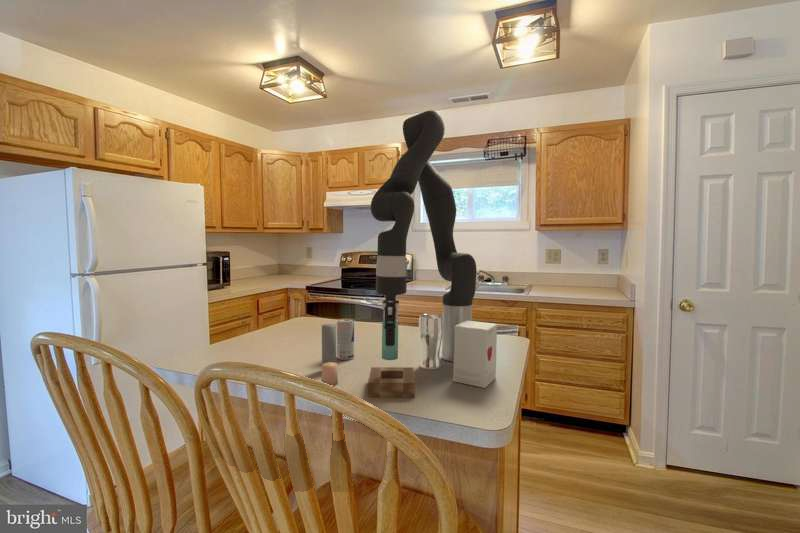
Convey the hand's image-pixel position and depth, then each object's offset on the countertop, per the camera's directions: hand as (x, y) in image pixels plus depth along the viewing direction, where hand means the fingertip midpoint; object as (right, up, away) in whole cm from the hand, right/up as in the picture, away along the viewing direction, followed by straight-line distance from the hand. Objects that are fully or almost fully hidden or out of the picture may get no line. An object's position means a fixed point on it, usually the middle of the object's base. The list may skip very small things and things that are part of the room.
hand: (390, 342), depth 94 cm
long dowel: (-18, -11, +13) cm, 25 cm away
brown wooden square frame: (0, -12, +1) cm, 12 cm away
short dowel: (-16, -11, +4) cm, 20 cm away
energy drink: (-15, -10, +25) cm, 31 cm away
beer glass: (+11, -11, +18) cm, 23 cm away
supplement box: (+22, -11, +7) cm, 26 cm away
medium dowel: (0, -4, 0) cm, 4 cm away
